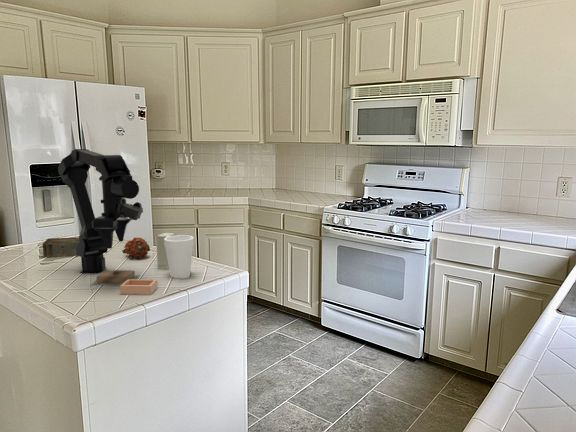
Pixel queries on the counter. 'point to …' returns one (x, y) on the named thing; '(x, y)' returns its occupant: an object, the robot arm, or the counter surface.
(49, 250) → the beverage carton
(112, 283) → the mat
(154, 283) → the dish
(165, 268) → the skincare box
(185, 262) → the foam cup
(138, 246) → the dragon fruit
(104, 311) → the counter surface
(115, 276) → the lid
